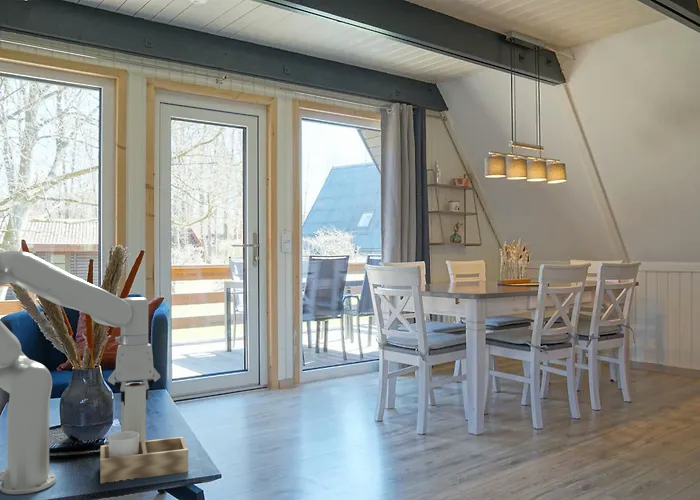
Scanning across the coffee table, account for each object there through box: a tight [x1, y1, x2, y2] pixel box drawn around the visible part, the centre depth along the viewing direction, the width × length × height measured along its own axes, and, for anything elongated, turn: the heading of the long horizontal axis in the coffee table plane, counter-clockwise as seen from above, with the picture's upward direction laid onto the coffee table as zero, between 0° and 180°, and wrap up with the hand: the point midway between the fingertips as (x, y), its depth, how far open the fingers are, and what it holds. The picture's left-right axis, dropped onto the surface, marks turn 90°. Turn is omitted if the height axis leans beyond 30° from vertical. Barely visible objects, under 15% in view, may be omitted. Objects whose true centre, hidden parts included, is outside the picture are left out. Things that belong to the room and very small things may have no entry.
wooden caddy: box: [99, 436, 189, 484], centre depth 165 cm, size 22×12×6 cm, turn 112°
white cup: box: [107, 431, 139, 458], centre depth 163 cm, size 8×8×10 cm
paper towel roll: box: [120, 381, 147, 441], centre depth 174 cm, size 7×6×21 cm
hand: (134, 402), depth 174 cm, fingers closed on paper towel roll, 4 cm apart
